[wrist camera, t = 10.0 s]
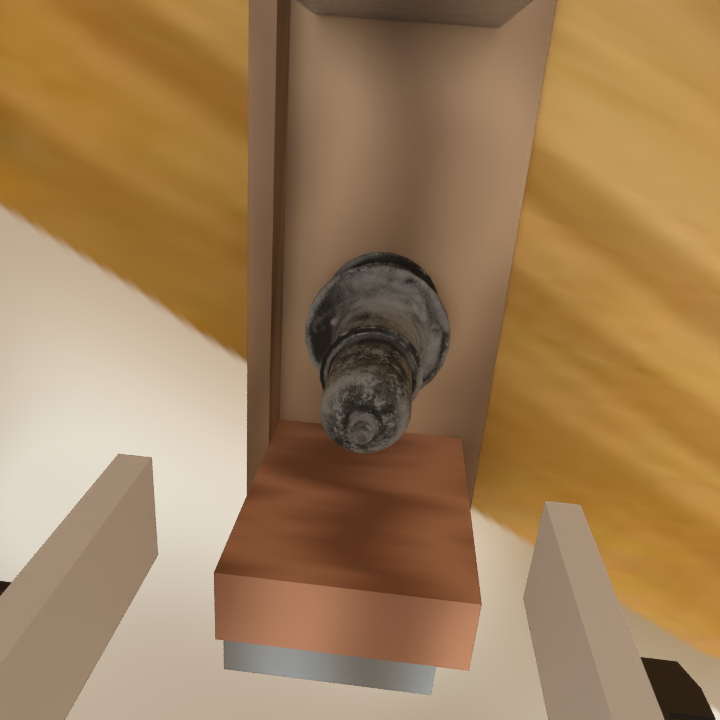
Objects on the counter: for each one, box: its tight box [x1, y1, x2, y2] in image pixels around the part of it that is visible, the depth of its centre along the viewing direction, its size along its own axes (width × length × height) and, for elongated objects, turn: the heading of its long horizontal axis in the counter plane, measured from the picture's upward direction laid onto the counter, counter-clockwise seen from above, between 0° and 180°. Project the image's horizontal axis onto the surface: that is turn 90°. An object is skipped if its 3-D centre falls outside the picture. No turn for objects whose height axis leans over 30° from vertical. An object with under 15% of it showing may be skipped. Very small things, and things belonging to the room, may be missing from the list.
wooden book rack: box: [214, 0, 557, 695], centre depth 23 cm, size 11×32×12 cm, turn 176°
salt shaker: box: [305, 252, 451, 453], centre depth 23 cm, size 6×6×12 cm
